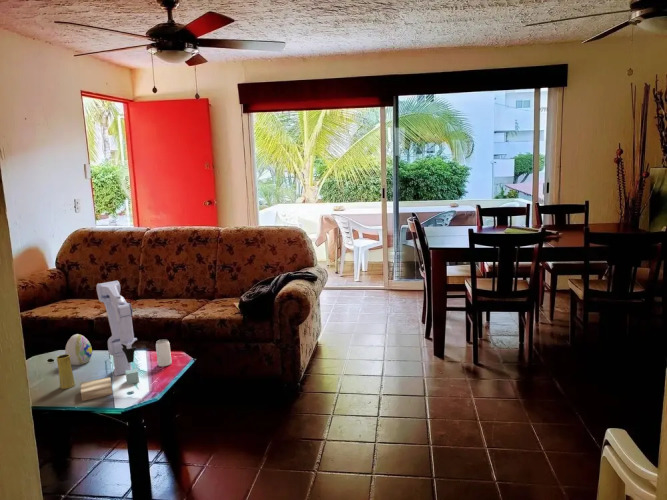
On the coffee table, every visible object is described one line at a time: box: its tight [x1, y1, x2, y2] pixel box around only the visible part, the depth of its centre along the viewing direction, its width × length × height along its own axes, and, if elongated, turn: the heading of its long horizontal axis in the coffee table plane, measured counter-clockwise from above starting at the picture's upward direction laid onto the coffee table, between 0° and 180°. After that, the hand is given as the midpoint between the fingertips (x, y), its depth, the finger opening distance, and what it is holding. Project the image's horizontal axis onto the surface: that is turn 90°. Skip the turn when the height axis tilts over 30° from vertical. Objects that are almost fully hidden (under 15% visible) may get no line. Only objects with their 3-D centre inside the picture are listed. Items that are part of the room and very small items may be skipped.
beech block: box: [80, 376, 114, 402], centre depth 228 cm, size 12×12×4 cm
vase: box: [56, 354, 76, 390], centre depth 236 cm, size 6×6×14 cm
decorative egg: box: [64, 333, 93, 366], centre depth 267 cm, size 12×12×15 cm
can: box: [155, 338, 173, 368], centre depth 256 cm, size 6×6×12 cm
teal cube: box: [125, 367, 140, 385], centre depth 237 cm, size 5×5×5 cm
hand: (130, 359), depth 236 cm, fingers open, 7 cm apart
